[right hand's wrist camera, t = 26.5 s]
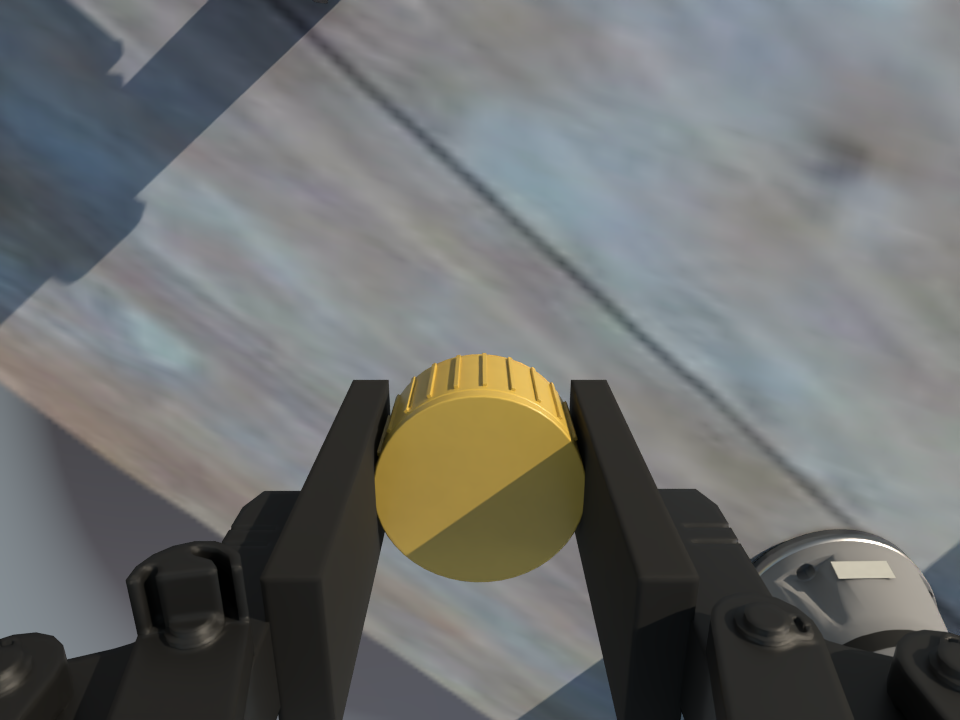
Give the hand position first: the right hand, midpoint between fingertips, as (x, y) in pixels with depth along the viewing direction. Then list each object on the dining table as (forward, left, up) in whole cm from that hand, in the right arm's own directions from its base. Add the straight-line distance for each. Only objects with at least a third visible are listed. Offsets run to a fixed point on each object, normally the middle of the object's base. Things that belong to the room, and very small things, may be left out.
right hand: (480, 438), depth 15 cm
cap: (0, 0, +2) cm, 2 cm away
